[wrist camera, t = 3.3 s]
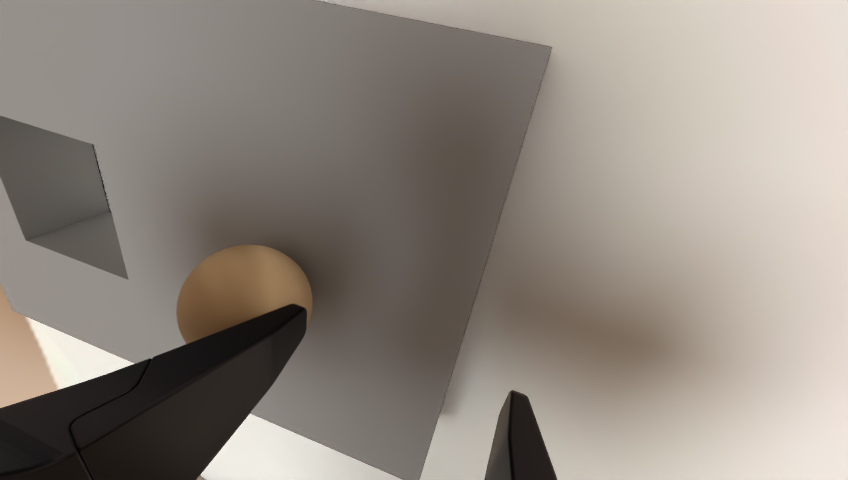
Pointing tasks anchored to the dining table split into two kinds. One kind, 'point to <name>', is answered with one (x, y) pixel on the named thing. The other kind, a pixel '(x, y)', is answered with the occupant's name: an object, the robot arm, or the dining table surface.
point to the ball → (239, 289)
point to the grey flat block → (264, 186)
